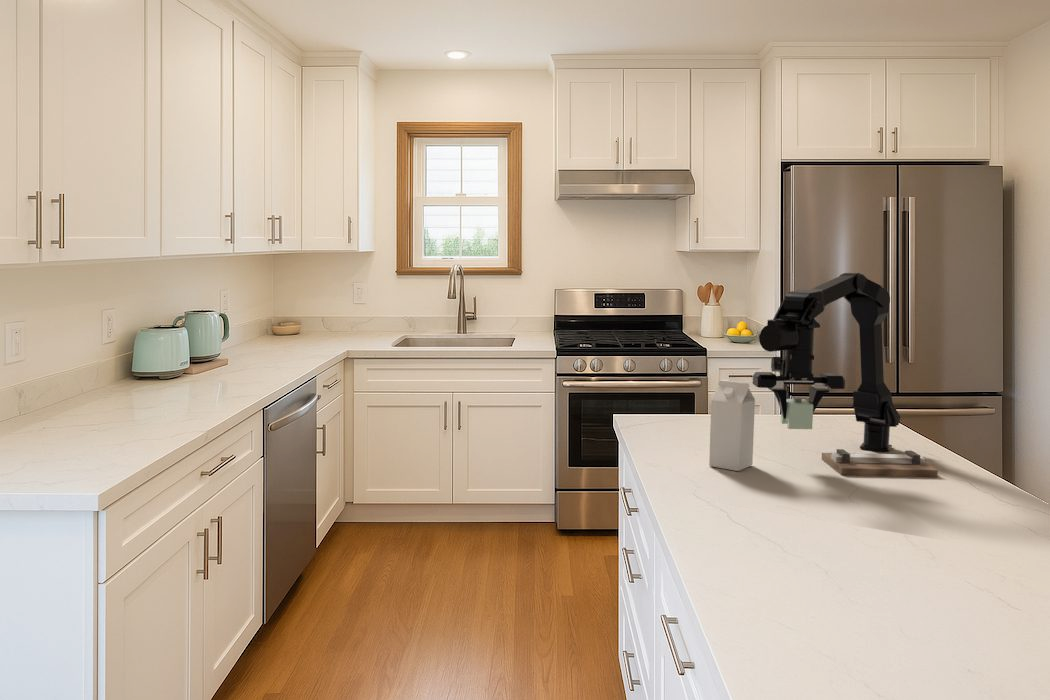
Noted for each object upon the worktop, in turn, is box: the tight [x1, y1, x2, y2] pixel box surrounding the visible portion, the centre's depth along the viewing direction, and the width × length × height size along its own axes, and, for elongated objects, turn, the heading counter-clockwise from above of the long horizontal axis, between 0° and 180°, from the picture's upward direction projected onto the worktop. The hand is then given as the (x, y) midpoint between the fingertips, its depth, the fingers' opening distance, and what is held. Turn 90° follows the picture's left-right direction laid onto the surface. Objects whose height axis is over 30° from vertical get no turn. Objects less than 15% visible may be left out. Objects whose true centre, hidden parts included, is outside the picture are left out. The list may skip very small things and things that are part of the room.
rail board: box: [821, 448, 939, 478], centre depth 179 cm, size 20×14×4 cm
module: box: [780, 396, 814, 430], centre depth 179 cm, size 5×7×6 cm
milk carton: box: [709, 380, 756, 472], centre depth 179 cm, size 7×7×19 cm
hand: (796, 418), depth 179 cm, fingers closed on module, 5 cm apart
